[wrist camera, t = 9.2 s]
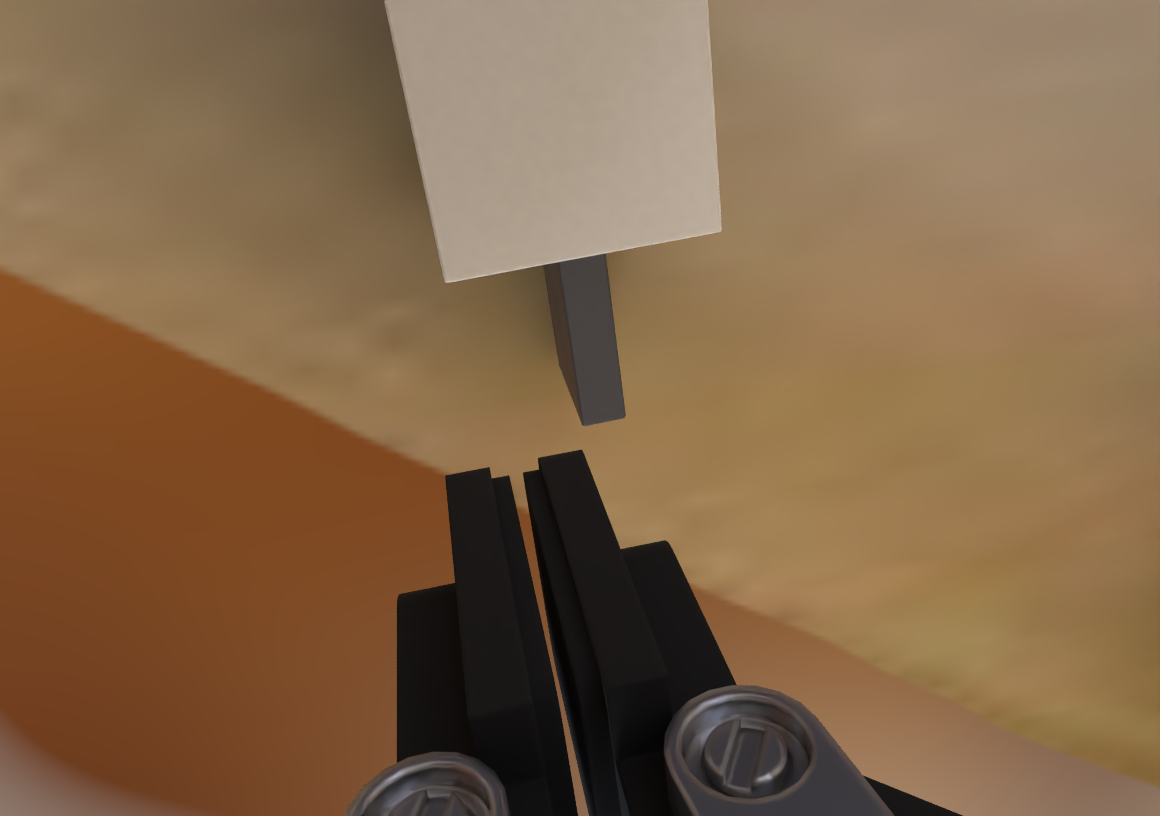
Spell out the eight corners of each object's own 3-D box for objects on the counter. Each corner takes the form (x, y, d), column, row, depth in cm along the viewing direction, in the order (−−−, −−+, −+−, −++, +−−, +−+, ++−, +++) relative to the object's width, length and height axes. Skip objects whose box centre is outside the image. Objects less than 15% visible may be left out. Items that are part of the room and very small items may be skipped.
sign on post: (365, -111, 22) (356, -128, 17) (635, -151, 22) (697, -177, 18) (469, 376, 28) (483, 461, 23) (679, 334, 29) (733, 410, 24)
